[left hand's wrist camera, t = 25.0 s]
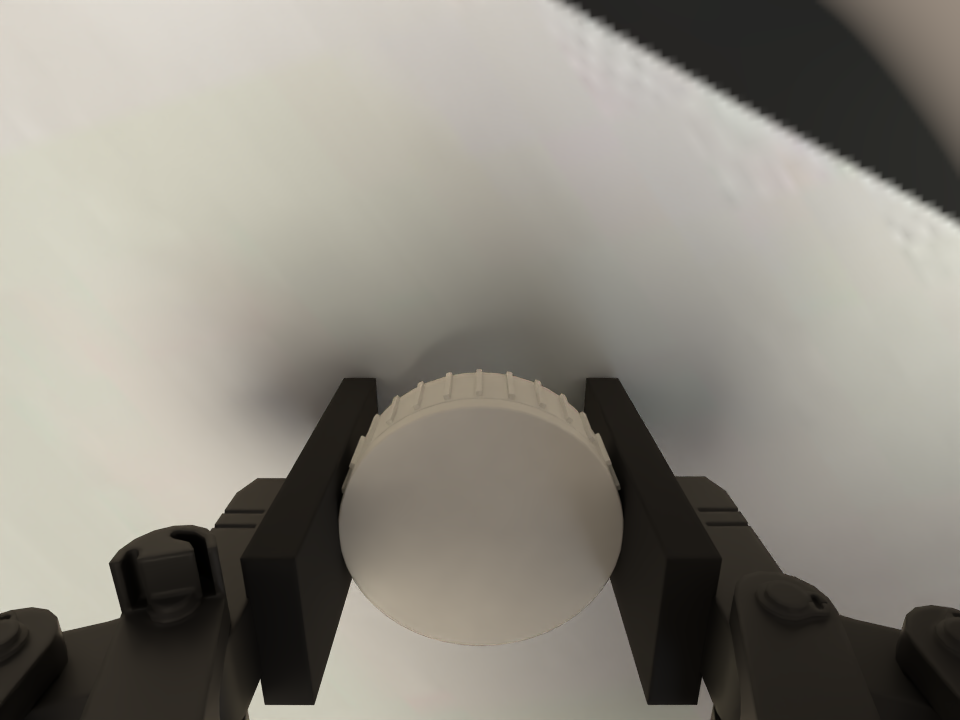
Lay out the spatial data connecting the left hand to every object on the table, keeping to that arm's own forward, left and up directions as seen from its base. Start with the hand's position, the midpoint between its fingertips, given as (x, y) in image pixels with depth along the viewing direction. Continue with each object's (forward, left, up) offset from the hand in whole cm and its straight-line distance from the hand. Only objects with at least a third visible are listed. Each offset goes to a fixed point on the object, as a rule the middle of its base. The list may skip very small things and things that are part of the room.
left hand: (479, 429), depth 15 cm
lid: (0, 0, +4) cm, 4 cm away
